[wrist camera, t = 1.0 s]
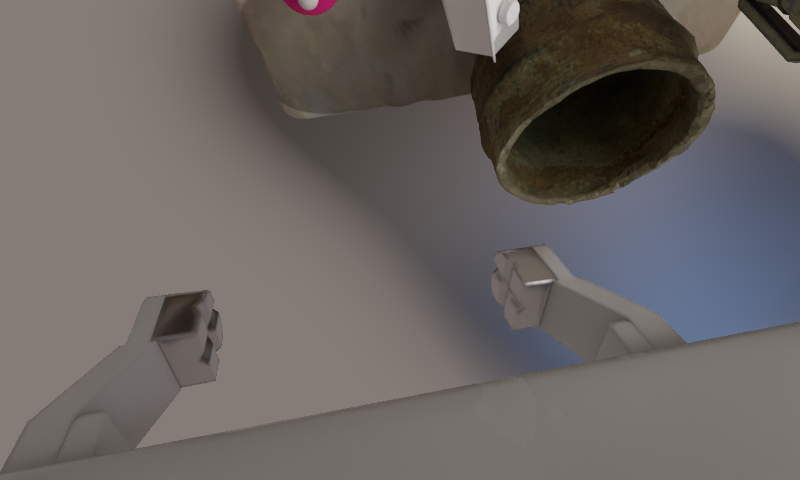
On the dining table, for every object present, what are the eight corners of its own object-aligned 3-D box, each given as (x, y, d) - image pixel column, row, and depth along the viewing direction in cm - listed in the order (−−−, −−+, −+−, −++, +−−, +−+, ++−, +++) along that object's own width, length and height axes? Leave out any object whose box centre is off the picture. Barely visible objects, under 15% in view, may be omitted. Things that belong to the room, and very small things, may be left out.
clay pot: (458, 106, 73) (489, 225, 60) (448, -50, 51) (493, 86, 38) (606, 75, 70) (670, 192, 58) (662, -102, 49) (784, 25, 36)
